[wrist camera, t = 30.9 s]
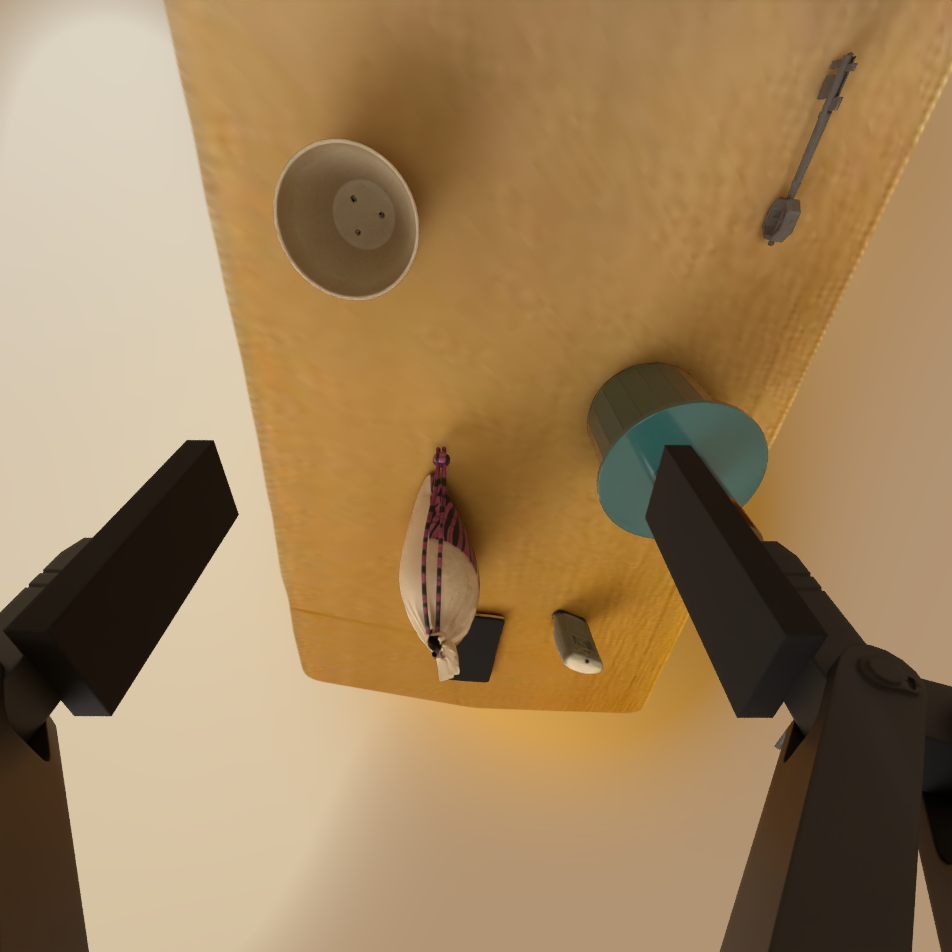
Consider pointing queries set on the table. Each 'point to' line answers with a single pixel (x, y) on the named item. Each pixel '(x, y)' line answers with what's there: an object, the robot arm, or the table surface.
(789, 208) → the key
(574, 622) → the cream tapered case
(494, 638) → the smartphone
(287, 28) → the table surface
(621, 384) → the pot
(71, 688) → the robot arm
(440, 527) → the pouch
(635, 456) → the lid
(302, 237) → the flower pot
